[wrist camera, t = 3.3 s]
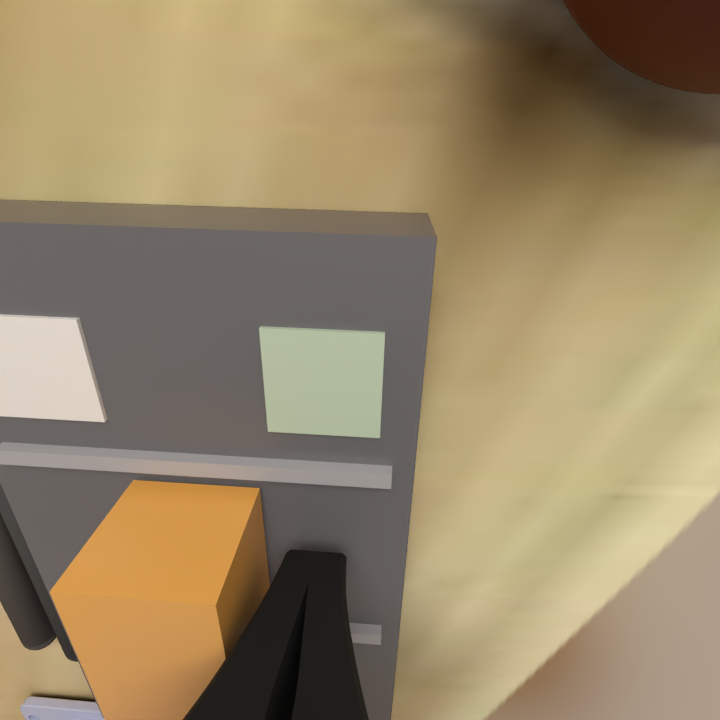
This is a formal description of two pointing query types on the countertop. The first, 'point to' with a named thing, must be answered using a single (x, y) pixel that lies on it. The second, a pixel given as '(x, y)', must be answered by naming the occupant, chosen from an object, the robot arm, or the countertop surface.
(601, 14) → the poop emoji
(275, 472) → the grey block
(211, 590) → the block
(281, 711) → the robot arm
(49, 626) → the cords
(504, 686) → the countertop surface
